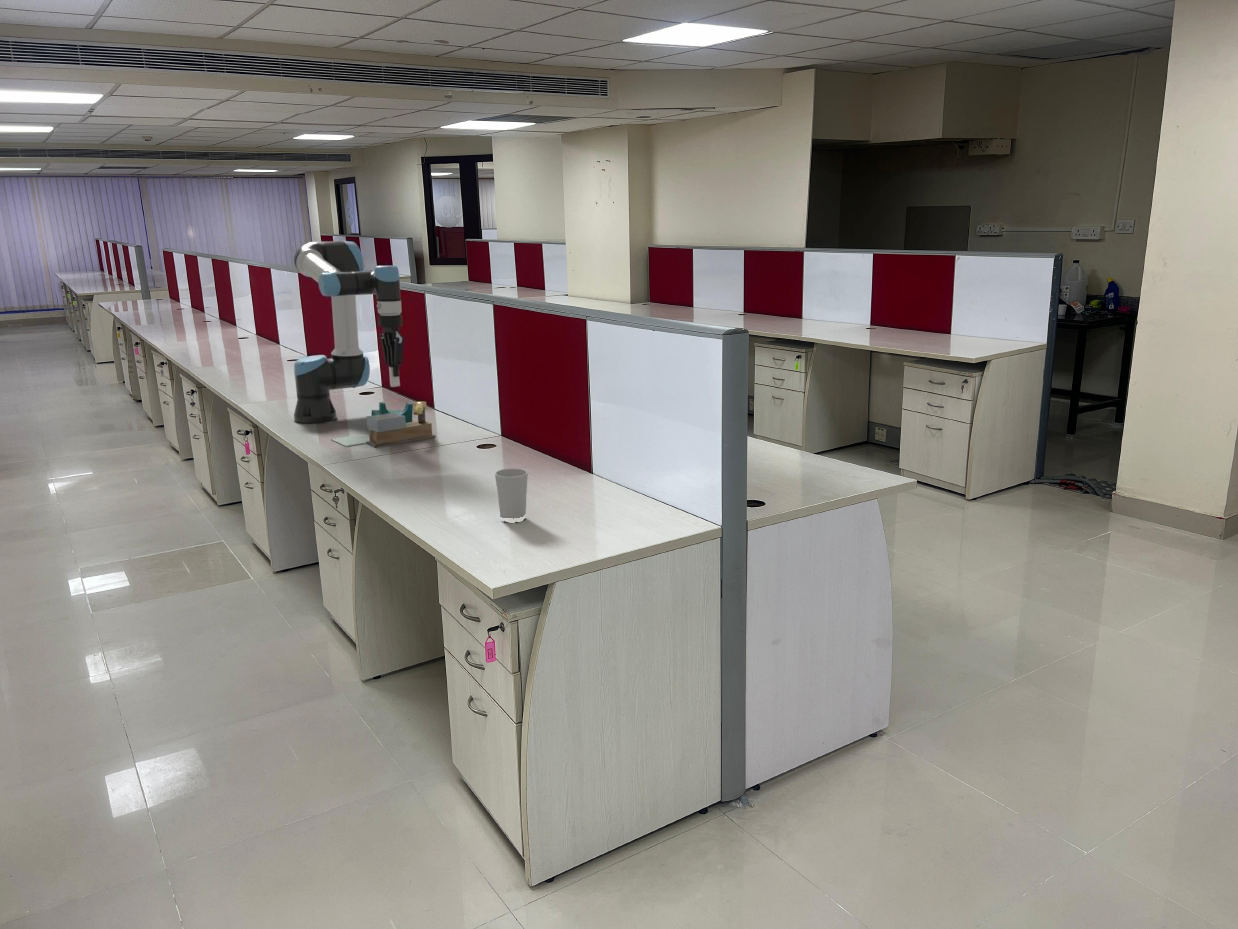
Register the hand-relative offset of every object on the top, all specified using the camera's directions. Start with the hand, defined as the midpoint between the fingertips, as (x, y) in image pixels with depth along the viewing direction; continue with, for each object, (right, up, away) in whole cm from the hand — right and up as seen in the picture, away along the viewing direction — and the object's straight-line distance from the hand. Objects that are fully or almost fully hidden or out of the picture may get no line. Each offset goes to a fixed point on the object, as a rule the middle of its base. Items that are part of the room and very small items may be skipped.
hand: (395, 386), depth 293 cm
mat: (-15, -18, +5) cm, 24 cm away
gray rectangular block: (-3, -14, +1) cm, 14 cm away
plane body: (+1, -18, +6) cm, 19 cm away
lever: (+7, -8, +3) cm, 11 cm away
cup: (+48, -40, -74) cm, 97 cm away
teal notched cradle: (-8, -13, +24) cm, 29 cm away
